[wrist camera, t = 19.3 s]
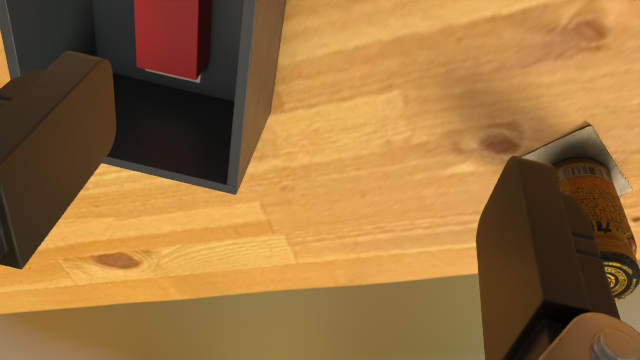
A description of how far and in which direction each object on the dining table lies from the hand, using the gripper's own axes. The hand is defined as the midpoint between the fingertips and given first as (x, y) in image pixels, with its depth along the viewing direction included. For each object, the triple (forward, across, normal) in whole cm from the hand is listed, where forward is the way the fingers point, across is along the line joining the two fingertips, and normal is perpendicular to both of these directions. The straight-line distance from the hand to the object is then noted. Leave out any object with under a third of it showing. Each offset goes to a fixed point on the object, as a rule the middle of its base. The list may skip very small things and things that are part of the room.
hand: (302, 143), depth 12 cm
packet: (+33, +14, +14) cm, 39 cm away
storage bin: (+34, +14, +14) cm, 39 cm away
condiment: (+34, -22, +22) cm, 46 cm away
